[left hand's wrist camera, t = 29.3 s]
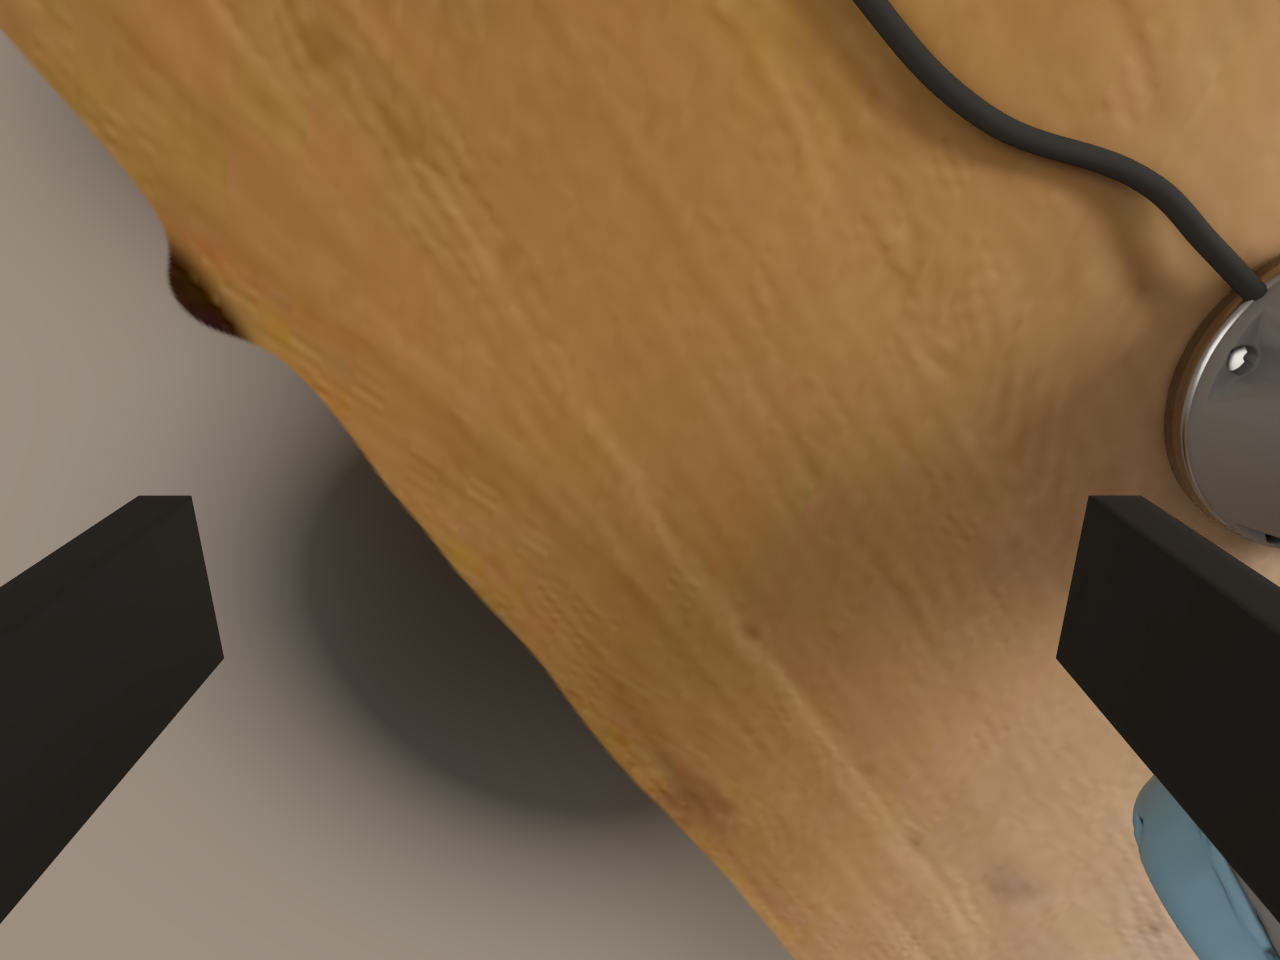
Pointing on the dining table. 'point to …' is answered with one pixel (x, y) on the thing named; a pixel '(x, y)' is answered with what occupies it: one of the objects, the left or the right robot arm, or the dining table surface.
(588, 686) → the dining table surface
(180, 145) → the dining table surface
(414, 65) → the dining table surface
